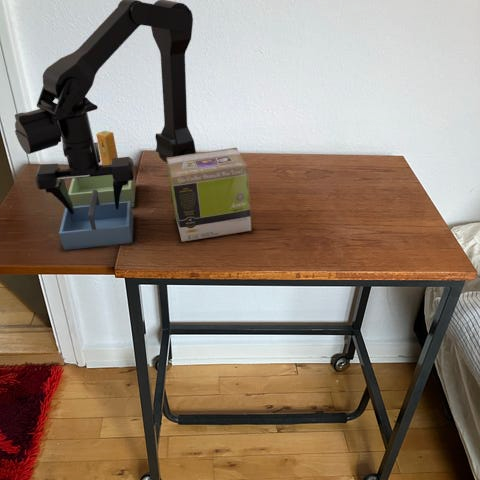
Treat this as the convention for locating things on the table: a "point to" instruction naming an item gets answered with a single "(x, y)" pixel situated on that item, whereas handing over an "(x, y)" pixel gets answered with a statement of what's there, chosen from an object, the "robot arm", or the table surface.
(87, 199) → the sage basket
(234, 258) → the table surface
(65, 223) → the blue basket
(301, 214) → the table surface
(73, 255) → the table surface
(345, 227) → the table surface
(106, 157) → the supplement box
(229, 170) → the tea box
